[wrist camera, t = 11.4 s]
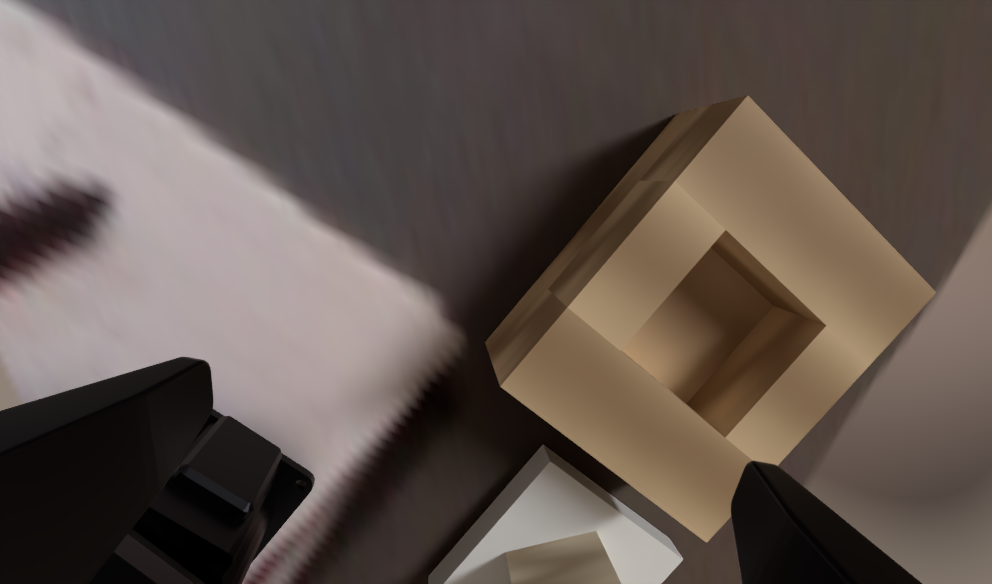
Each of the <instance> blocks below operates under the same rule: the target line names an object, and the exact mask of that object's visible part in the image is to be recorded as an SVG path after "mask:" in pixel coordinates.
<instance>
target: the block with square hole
mask: <svg viewBox="0 0 992 584" xmlns="http://www.w3.org/2000/svg"><path fill="white" fill-rule="evenodd" d="M935 294H936V292H935V291H934V290H933V289H932V288H931V287H930V286H929V284H928V283H927V282H926V281H925V280H924V279H923V278H922V277H921V276H920V275H919V274H918V273H917V272H916V271H915V270H914V269H913V268H912V267H911V266H910V265H909V264H908V263H907V261H906V260H905V259H904V258H903V257H902V256H901V255H900V254H899V253H898V252H897V251H896V250H895V249H894V248H893V247H892V246H891V245H890V244H889V243H888V242H887V241H886V239H885V238H884V237H883V236H882V235H881V234H880V233H879V232H878V231H877V230H876V229H875V228H874V227H873V226H872V225H871V224H870V223H869V222H868V221H867V220H866V219H865V218H864V216H863V215H862V214H861V213H860V212H859V211H858V210H857V209H856V208H855V207H854V206H853V205H852V204H851V203H850V202H849V201H848V200H847V199H846V198H845V197H844V196H843V194H842V193H841V192H840V191H839V190H838V189H837V188H836V187H835V186H834V185H833V184H832V183H831V182H830V181H829V180H828V179H827V178H826V177H825V176H824V175H823V174H822V173H821V171H820V170H819V169H818V168H817V167H816V166H815V165H814V164H813V163H812V162H811V161H810V160H809V159H808V158H807V157H806V156H805V155H804V154H803V153H802V152H801V151H800V149H799V148H798V147H797V146H796V145H795V144H794V143H793V142H792V141H791V140H790V139H789V138H788V137H787V136H786V135H785V134H784V133H783V132H782V131H781V130H780V129H779V128H778V126H777V125H776V124H775V123H774V122H773V121H772V120H771V119H770V118H769V117H768V116H767V115H766V114H765V113H764V112H763V111H762V110H761V109H760V108H759V107H758V106H757V104H756V103H755V102H754V101H753V100H752V99H751V98H750V97H749V96H748V95H747V96H744V97H740V98H736V99H732V100H728V101H724V102H720V103H716V104H712V105H708V106H705V107H701V108H697V109H693V110H689V111H685V112H681V113H677V114H676V115H675V116H674V118H673V119H672V120H671V121H670V122H669V124H668V125H667V126H666V127H665V128H664V130H663V131H662V132H661V133H660V134H659V136H658V137H657V138H656V139H655V140H654V141H653V143H652V144H651V145H650V146H649V147H648V149H647V150H646V151H645V152H644V153H643V155H642V156H641V157H640V158H639V159H638V161H637V162H636V163H635V164H634V165H633V166H632V168H631V169H630V170H629V171H628V172H627V174H626V175H625V176H624V177H623V178H622V180H621V181H620V182H619V183H618V184H617V186H616V187H615V188H614V189H613V190H612V191H611V193H610V194H609V195H608V196H607V197H606V199H605V200H604V201H603V202H602V203H601V205H600V206H599V207H598V208H597V209H596V210H595V212H594V213H593V214H592V215H591V216H590V218H589V219H588V220H587V221H586V222H585V224H584V225H583V226H582V227H581V228H580V230H579V231H578V232H577V233H576V234H575V235H574V237H573V238H572V239H571V240H570V241H569V243H568V244H567V245H566V246H565V247H564V249H563V250H562V251H561V252H560V253H559V255H558V256H557V257H556V258H555V259H554V260H553V262H552V263H551V264H550V265H549V266H548V268H547V269H546V270H545V271H544V272H543V274H542V275H541V276H540V277H539V278H538V280H537V281H536V282H535V283H534V284H533V285H532V287H531V288H530V289H529V290H528V291H527V293H526V294H525V295H524V296H523V297H522V299H521V300H520V301H519V302H518V303H517V305H516V306H515V307H514V308H513V309H512V310H511V312H510V313H509V314H508V315H507V316H506V318H505V319H504V320H503V321H502V322H501V324H500V325H499V326H498V327H497V328H496V329H495V331H494V332H493V333H492V334H491V335H490V337H489V338H488V339H487V340H486V341H485V344H486V347H487V350H488V353H489V356H490V359H491V362H492V365H493V368H494V370H495V373H496V376H497V379H498V382H499V385H500V387H501V388H503V389H504V390H505V391H506V392H508V393H509V394H510V395H512V396H513V397H514V398H516V399H517V400H518V401H520V402H521V403H522V404H524V405H525V406H526V407H528V408H529V409H530V410H532V411H533V412H534V413H536V414H537V415H538V416H540V417H541V418H542V419H544V420H545V421H546V422H548V423H549V424H550V425H551V426H553V427H554V428H555V429H557V430H558V431H559V432H561V433H562V434H563V435H565V436H566V437H567V438H569V439H570V440H571V441H573V442H574V443H575V444H577V445H578V446H579V447H581V448H582V449H583V450H585V451H586V452H587V453H589V454H590V455H591V456H592V457H594V458H595V459H596V460H598V461H599V462H600V463H602V464H603V465H604V466H606V467H607V468H608V469H610V470H611V471H612V472H614V473H615V474H616V475H618V476H619V477H620V478H622V479H623V480H624V481H626V482H627V483H628V484H630V485H631V486H632V487H634V488H635V489H636V490H637V491H639V492H640V493H641V494H643V495H644V496H645V497H647V498H648V499H649V500H651V501H652V502H653V503H655V504H656V505H657V506H659V507H660V508H661V509H663V510H664V511H665V512H667V513H668V514H669V515H671V516H672V517H673V518H675V519H676V520H677V521H678V522H680V523H681V524H682V525H684V526H685V527H686V528H688V529H689V530H690V531H692V532H693V533H694V534H696V535H697V536H698V537H700V538H701V539H702V540H704V541H705V542H706V543H707V542H708V541H709V540H710V539H711V538H712V536H713V535H714V534H715V533H716V532H717V531H718V530H719V529H720V528H721V527H722V526H723V525H724V523H725V522H726V521H727V520H728V519H729V518H730V517H731V502H732V498H733V495H734V493H735V490H736V488H737V485H738V483H739V480H740V478H741V475H742V473H743V470H744V468H745V466H746V464H747V463H748V462H750V461H759V462H764V463H770V464H775V465H777V466H778V465H779V464H780V462H781V461H782V460H783V459H784V458H785V457H786V456H787V455H788V454H789V453H790V452H791V450H792V449H793V448H794V447H795V446H796V445H797V444H798V443H799V442H800V441H801V440H802V438H803V437H804V436H805V435H806V434H807V433H808V432H809V431H810V430H811V429H812V428H813V426H814V425H815V424H816V423H817V422H818V421H819V420H820V419H821V418H822V417H823V416H824V414H825V413H826V412H827V411H828V410H829V409H830V408H831V407H832V406H833V405H834V404H835V403H836V401H837V400H838V399H839V398H840V397H841V396H842V395H843V394H844V393H845V392H846V391H847V389H848V388H849V387H850V386H851V385H852V384H853V383H854V382H855V381H856V380H857V379H858V377H859V376H860V375H861V374H862V373H863V372H864V371H865V370H866V369H867V368H868V367H869V365H870V364H871V363H872V362H873V361H874V360H875V359H876V358H877V357H878V356H879V355H880V353H881V352H882V351H883V350H884V349H885V348H886V347H887V346H888V345H889V344H890V343H891V342H892V340H893V339H894V338H895V337H896V336H897V335H898V334H899V333H900V332H901V331H902V330H903V328H904V327H905V326H906V325H907V324H908V323H909V322H910V321H911V320H912V319H913V318H914V316H915V315H916V314H917V313H918V312H919V311H920V310H921V309H922V308H923V307H924V306H925V304H926V303H927V302H928V301H929V300H930V299H931V298H932V297H933V296H934V295H935Z"/></svg>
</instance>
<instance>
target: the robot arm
mask: <svg viewBox="0 0 992 584" xmlns="http://www.w3.org/2000/svg"><path fill="white" fill-rule="evenodd" d="M212 408H213V390H212V379H211V369H210V366H209V364H208V363H207V362H206V361H205V360H200V359H195V358H189V357H179V358H176V359H173V360H169V361H166V362H163V363H159V364H156V365H153V366H149V367H146V368H142V369H139V370H136V371H132V372H129V373H126V374H122V375H119V376H116V377H112V378H109V379H106V380H102V381H99V382H96V383H92V384H89V385H86V386H82V387H79V388H75V389H72V390H69V391H65V392H62V393H59V394H55V395H52V396H49V397H45V398H42V399H39V400H35V401H32V402H29V403H25V404H22V405H19V406H15V407H12V408H9V409H5V410H2V411H0V584H242V582H243V580H244V578H245V575H246V573H247V571H248V569H249V567H250V565H251V563H252V562H253V560H254V559H255V558H256V557H257V556H258V554H259V553H260V552H261V551H262V550H263V548H264V547H265V546H266V545H267V543H268V542H269V541H270V540H271V539H272V537H273V536H274V535H275V534H276V533H277V531H278V530H279V529H280V528H281V527H282V525H283V524H284V523H285V522H286V521H287V519H288V518H289V517H290V516H291V515H292V513H293V512H294V511H295V510H296V509H297V507H298V506H299V505H300V504H301V503H302V501H303V500H304V499H305V498H306V497H307V495H308V494H309V493H310V492H311V490H312V488H313V485H314V480H315V478H314V476H313V474H312V473H311V472H310V471H308V470H307V469H305V468H304V467H302V466H301V465H299V464H298V463H296V462H294V461H293V460H291V459H290V458H288V457H287V456H285V455H284V454H282V453H281V450H280V448H278V447H277V446H275V445H274V444H272V443H271V442H269V441H268V440H266V439H264V438H263V437H261V436H260V435H258V434H257V433H255V432H254V431H252V430H251V429H249V428H248V427H246V426H244V425H243V424H241V423H240V422H238V421H237V420H235V419H234V418H232V417H230V416H223V415H222V414H220V413H219V412H217V411H216V410H214V409H212ZM297 480H303V481H305V482H306V485H304V486H301V485H298V484H297V483H296V481H297ZM731 518H732V524H733V531H734V537H735V543H736V549H737V556H738V562H739V568H740V574H741V581H742V584H922V583H921V582H920V581H918V580H917V579H916V578H914V577H913V576H912V575H911V574H909V573H908V572H907V571H906V570H905V569H904V568H902V567H901V566H900V565H899V564H897V563H896V562H895V561H894V560H893V559H891V558H890V557H889V556H888V555H887V554H885V553H884V552H883V551H882V550H880V549H879V548H878V547H877V546H875V545H874V544H873V543H872V542H871V541H869V540H868V539H867V538H866V537H865V536H863V535H862V534H861V533H859V532H858V531H857V530H856V529H855V528H853V527H852V526H851V525H850V524H849V523H847V522H846V521H845V520H844V519H842V518H841V517H840V516H839V515H838V514H836V513H835V512H834V511H833V510H831V509H830V508H829V507H828V506H827V505H825V504H824V503H823V502H822V501H820V500H819V499H818V498H817V497H816V496H814V495H813V494H812V493H811V492H809V491H808V490H807V489H806V488H804V487H803V486H802V485H801V484H800V483H798V482H797V481H796V480H795V479H793V478H792V477H791V476H790V475H789V474H787V473H786V472H785V471H784V470H782V469H781V468H780V467H779V466H777V465H775V464H770V463H764V462H759V461H750V462H748V463H747V464H746V466H745V468H744V470H743V473H742V475H741V478H740V480H739V483H738V485H737V488H736V490H735V493H734V495H733V498H732V502H731Z"/></svg>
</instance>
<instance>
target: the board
mask: <svg viewBox="0 0 992 584" xmlns="http://www.w3.org/2000/svg"><path fill="white" fill-rule="evenodd" d="M592 531H597V533H598V536H599V538H600V540H601V542H602V544H603V546H604V548H605V550H606V552H607V554H608V557H609V559H610V561H611V563H612V565H613V567H614V569H615V571H616V573H617V575H618V578H619V580H620V582H621V584H661V583H662V582H663V581H664V580H665V579H666V578H667V577H668V576H669V575H670V574H671V572H672V571H673V570H674V569H675V568H676V567H677V566H678V565H679V564H680V563H681V562H682V560H683V558H682V557H681V555H680V554H679V552H678V551H677V549H676V548H675V546H674V545H673V543H672V542H671V540H670V539H669V538H668V537H667V536H666V535H664V534H663V533H662V532H660V531H659V530H658V529H656V528H655V527H654V526H652V525H651V524H650V523H648V522H647V521H646V520H644V519H643V518H642V517H640V516H639V515H638V514H636V513H635V512H633V511H632V510H631V509H629V508H628V507H627V506H625V505H624V504H623V503H621V502H620V501H619V500H617V499H616V498H615V497H613V496H612V495H611V494H609V493H608V492H607V491H605V490H604V489H602V488H601V487H600V486H598V485H597V484H596V483H594V482H593V481H592V480H590V479H589V478H588V477H586V476H585V475H584V474H582V473H581V472H580V471H578V470H577V469H576V468H574V467H573V466H571V465H570V464H569V463H567V462H566V461H565V460H563V459H562V458H561V457H559V456H558V455H557V454H555V453H554V452H553V451H551V450H550V449H549V448H547V447H546V446H545V445H542V446H541V447H540V448H539V449H538V451H537V452H536V453H535V454H534V455H533V456H532V457H531V459H530V460H529V461H528V462H527V463H526V464H525V466H524V467H523V468H522V469H521V470H520V471H519V472H518V474H517V475H516V476H515V477H514V478H513V479H512V481H511V482H510V483H509V484H508V485H507V486H506V487H505V489H504V490H503V491H502V492H501V493H500V494H499V495H498V497H497V498H496V499H495V500H494V501H493V502H492V504H491V505H490V506H489V507H488V508H487V509H486V510H485V512H484V513H483V514H482V515H481V516H480V517H479V519H478V520H477V521H476V522H475V523H474V524H473V525H472V527H471V528H470V529H469V530H468V531H467V532H466V533H465V535H464V536H463V537H462V538H461V539H460V540H459V542H458V543H457V544H456V545H455V546H454V547H453V548H452V550H451V551H450V552H449V553H448V554H447V555H446V557H445V558H444V559H443V560H442V561H441V562H440V563H439V565H438V566H437V567H436V568H435V569H434V570H433V571H432V573H431V574H430V575H429V576H428V584H511V580H510V575H509V570H508V565H507V560H506V555H505V552H508V551H512V550H517V549H521V548H525V547H529V546H533V545H538V544H542V543H546V542H550V541H554V540H559V539H563V538H567V537H571V536H575V535H580V534H584V533H588V532H592Z"/></svg>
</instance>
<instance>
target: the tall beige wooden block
mask: <svg viewBox="0 0 992 584" xmlns="http://www.w3.org/2000/svg"><path fill="white" fill-rule="evenodd" d="M505 555H506V560H507V565H508V570H509V575H510V580H511V584H621V582H620V580H619V578H618V575H617V573H616V571H615V569H614V567H613V565H612V563H611V561H610V559H609V557H608V554H607V552H606V550H605V548H604V546H603V544H602V542H601V540H600V538H599V536H598V533H597V531H592V532H588V533H584V534H580V535H575V536H571V537H567V538H563V539H559V540H554V541H550V542H546V543H542V544H538V545H533V546H529V547H525V548H521V549H517V550H512V551H508V552H505Z"/></svg>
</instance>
